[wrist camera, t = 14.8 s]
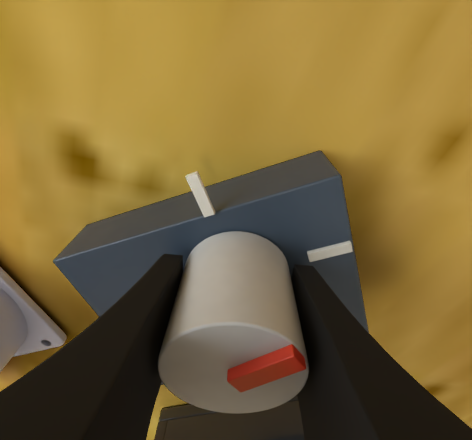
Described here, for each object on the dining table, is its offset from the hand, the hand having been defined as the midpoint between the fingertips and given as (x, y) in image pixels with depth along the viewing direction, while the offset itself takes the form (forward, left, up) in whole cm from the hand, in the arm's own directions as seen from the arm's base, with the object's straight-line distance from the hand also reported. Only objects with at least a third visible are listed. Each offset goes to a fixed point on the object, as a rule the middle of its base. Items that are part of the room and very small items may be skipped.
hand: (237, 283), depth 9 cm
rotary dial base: (-1, -1, -3) cm, 4 cm away
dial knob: (0, 0, 0) cm, 0 cm away
